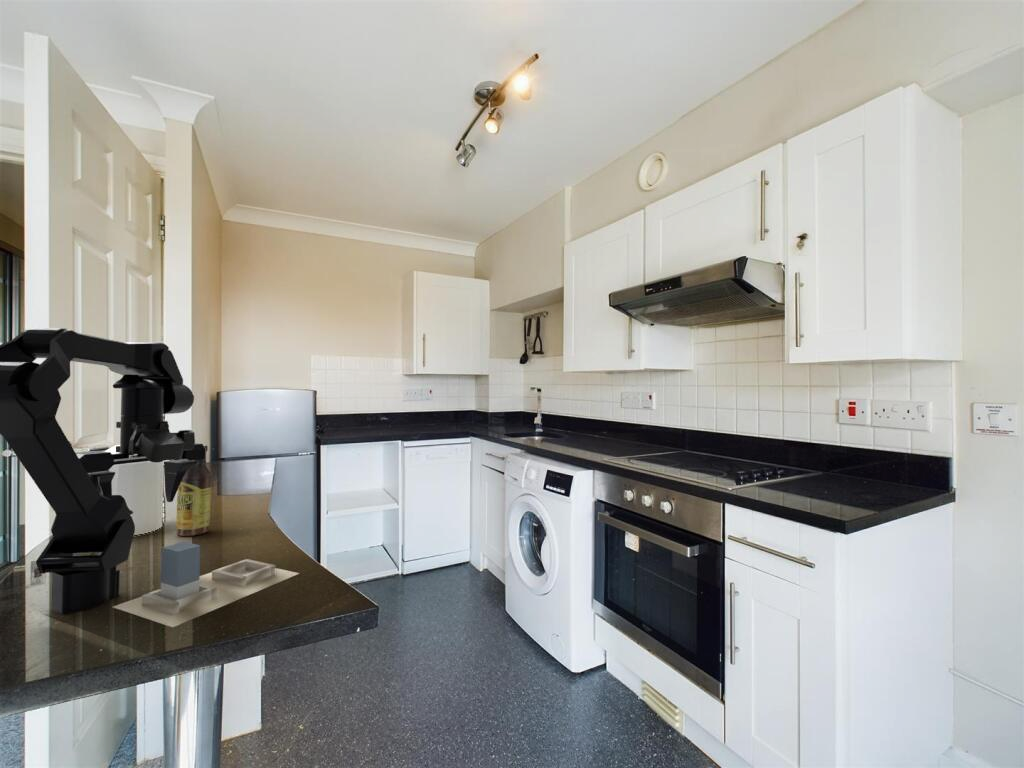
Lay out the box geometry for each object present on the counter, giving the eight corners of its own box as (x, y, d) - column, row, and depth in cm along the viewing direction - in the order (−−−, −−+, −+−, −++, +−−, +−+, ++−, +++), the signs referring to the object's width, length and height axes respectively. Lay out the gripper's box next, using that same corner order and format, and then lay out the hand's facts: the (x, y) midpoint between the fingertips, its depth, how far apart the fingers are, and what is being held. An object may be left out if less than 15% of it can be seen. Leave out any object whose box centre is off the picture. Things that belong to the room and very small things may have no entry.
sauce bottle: (170, 535, 103) (172, 445, 103) (199, 527, 109) (201, 442, 109) (186, 539, 100) (188, 447, 100) (216, 531, 105) (218, 444, 106)
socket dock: (172, 634, 60) (173, 615, 60) (112, 613, 66) (112, 596, 66) (299, 579, 79) (299, 564, 79) (243, 566, 84) (243, 552, 84)
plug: (177, 608, 65) (178, 551, 66) (160, 603, 67) (161, 547, 67) (199, 600, 68) (200, 545, 68) (182, 595, 70) (183, 541, 70)
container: (100, 526, 109) (102, 441, 110) (169, 520, 115) (171, 439, 116) (75, 543, 97) (78, 447, 98) (154, 535, 103) (156, 444, 103)
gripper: (102, 419, 68) (99, 527, 67) (226, 414, 85) (225, 500, 84) (62, 417, 72) (60, 518, 72) (188, 413, 89) (186, 495, 89)
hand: (140, 507), depth 79 cm, fingers open, 9 cm apart
